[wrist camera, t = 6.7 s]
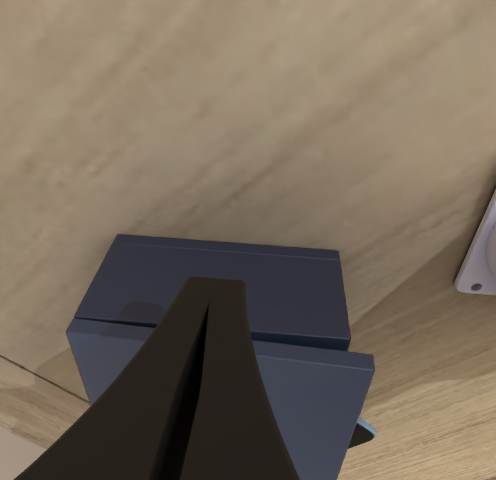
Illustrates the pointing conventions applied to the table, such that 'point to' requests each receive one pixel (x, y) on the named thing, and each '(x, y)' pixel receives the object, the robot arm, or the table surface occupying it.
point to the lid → (275, 382)
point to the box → (225, 267)
